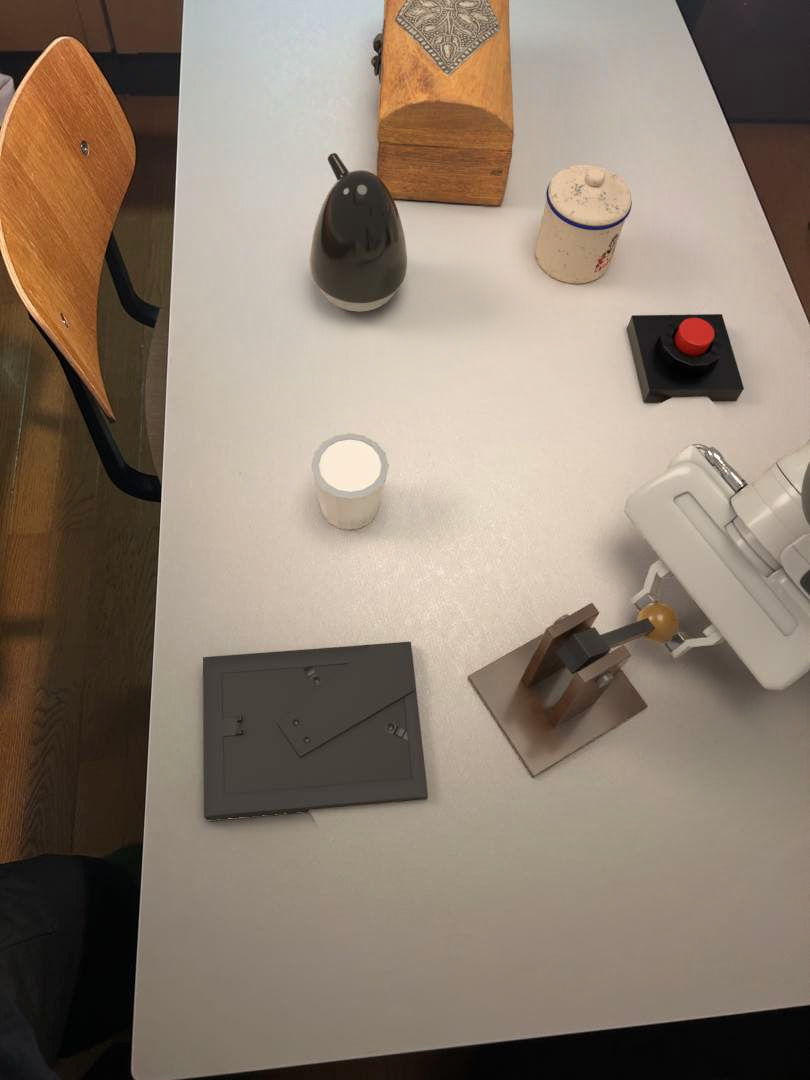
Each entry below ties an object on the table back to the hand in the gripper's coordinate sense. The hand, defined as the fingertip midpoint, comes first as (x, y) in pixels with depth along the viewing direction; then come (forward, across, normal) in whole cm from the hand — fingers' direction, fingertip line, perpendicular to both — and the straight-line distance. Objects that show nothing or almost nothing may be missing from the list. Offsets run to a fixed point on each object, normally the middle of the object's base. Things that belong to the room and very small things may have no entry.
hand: (653, 629), depth 81 cm
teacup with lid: (-14, -43, +19) cm, 49 cm away
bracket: (+10, 0, -4) cm, 10 cm away
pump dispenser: (+4, -49, +1) cm, 49 cm away
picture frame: (+24, -8, -18) cm, 31 cm away
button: (-17, -23, +17) cm, 33 cm away
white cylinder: (+14, -26, -8) cm, 30 cm away
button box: (-14, -24, +19) cm, 33 cm away
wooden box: (-12, -69, +17) cm, 72 cm away
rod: (+2, 0, -6) cm, 6 cm away
